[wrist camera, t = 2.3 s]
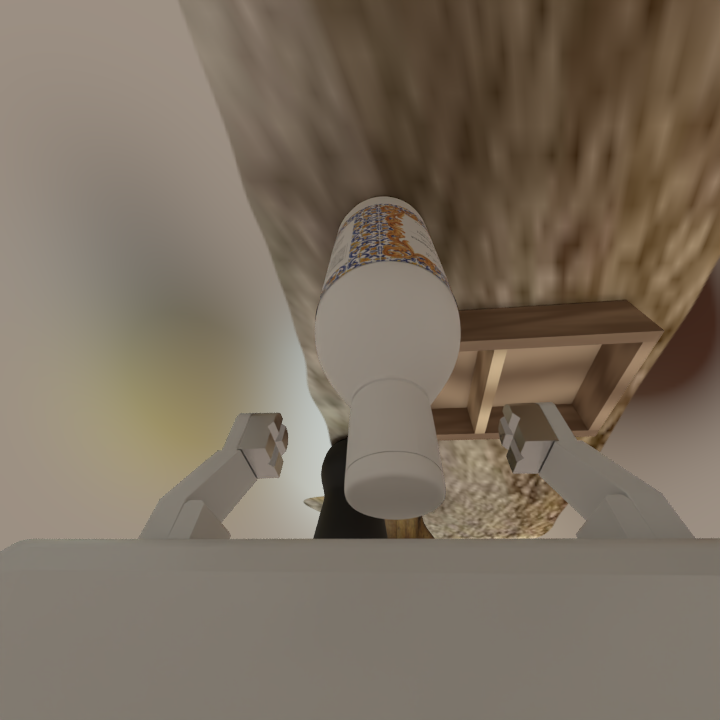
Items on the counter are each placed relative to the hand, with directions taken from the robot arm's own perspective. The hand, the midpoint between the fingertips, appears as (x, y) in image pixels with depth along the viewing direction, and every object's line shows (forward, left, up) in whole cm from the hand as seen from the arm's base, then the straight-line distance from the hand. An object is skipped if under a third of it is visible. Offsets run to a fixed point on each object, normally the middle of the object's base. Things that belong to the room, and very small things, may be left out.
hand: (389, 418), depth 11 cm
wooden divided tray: (+13, +9, -17) cm, 23 cm away
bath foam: (0, 0, -17) cm, 17 cm away
